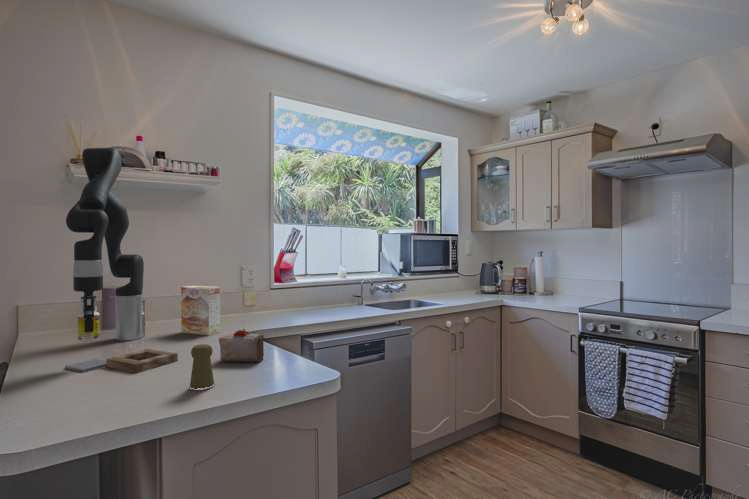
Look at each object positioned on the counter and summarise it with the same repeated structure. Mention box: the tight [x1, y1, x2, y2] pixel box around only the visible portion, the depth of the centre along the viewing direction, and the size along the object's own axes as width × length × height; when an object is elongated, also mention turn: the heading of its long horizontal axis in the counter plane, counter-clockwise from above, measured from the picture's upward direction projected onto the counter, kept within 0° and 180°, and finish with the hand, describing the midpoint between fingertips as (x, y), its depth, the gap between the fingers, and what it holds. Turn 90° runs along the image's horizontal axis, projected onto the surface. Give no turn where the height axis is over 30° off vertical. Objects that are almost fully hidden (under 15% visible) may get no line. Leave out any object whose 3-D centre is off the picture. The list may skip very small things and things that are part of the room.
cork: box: [189, 343, 215, 389], centre depth 112 cm, size 6×6×11 cm
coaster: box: [64, 358, 107, 373], centre depth 131 cm, size 9×9×1 cm
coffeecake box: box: [180, 285, 221, 336], centre depth 181 cm, size 15×7×20 cm, turn 68°
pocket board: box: [105, 348, 179, 373], centre depth 134 cm, size 14×14×2 cm
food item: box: [218, 328, 265, 363], centre depth 138 cm, size 14×8×10 cm, turn 87°
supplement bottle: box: [77, 306, 101, 343], centre depth 131 cm, size 6×6×10 cm
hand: (88, 330), depth 131 cm, fingers closed on supplement bottle, 5 cm apart
